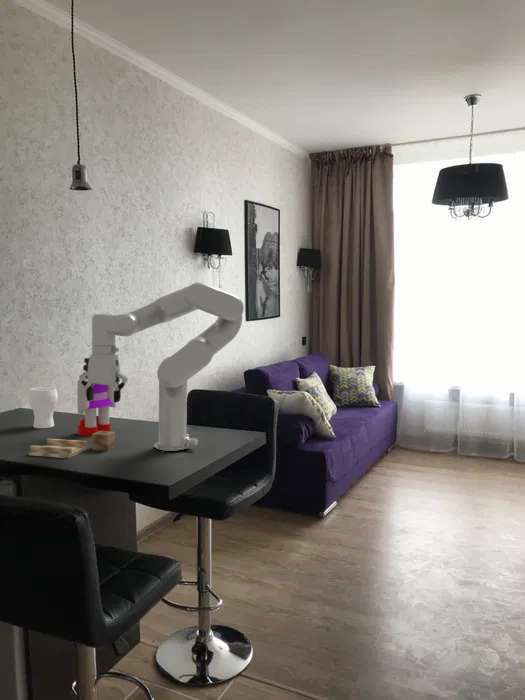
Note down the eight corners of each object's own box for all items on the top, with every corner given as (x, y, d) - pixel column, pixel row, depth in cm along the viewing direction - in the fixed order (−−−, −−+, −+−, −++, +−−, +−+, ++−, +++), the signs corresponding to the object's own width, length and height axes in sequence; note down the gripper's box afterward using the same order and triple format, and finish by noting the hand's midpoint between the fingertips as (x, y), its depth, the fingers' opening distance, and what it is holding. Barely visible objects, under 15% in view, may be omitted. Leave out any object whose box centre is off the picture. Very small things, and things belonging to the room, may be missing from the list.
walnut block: (114, 447, 195) (114, 431, 195) (107, 451, 190) (107, 435, 189) (100, 446, 196) (100, 430, 196) (92, 450, 191) (92, 434, 190)
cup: (28, 424, 227) (28, 387, 226) (56, 422, 231) (56, 386, 230) (30, 430, 217) (29, 391, 216) (59, 428, 222) (58, 390, 221)
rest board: (87, 448, 192) (87, 440, 192) (68, 458, 180) (68, 449, 180) (49, 446, 194) (49, 438, 194) (29, 455, 183) (28, 446, 182)
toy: (104, 426, 226) (104, 351, 224) (120, 429, 222) (120, 353, 219) (68, 435, 211) (67, 355, 208) (84, 438, 206) (84, 356, 204)
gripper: (132, 350, 192) (132, 400, 194) (85, 348, 196) (85, 397, 197) (122, 352, 185) (122, 404, 186) (74, 350, 188) (74, 401, 190)
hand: (103, 401), depth 192 cm, fingers open, 9 cm apart
